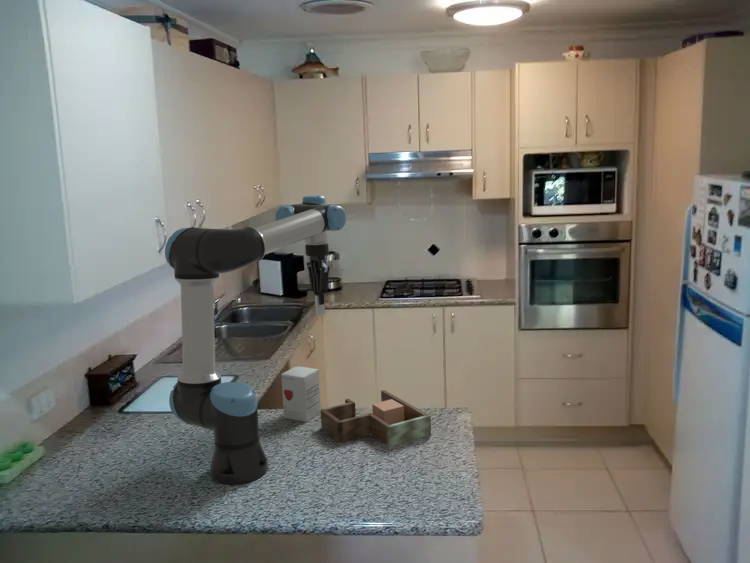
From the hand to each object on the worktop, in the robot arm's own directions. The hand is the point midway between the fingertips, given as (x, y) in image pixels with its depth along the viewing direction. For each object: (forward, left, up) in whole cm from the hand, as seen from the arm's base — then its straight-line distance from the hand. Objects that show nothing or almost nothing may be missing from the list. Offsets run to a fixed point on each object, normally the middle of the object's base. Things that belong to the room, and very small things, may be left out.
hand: (320, 313), depth 226 cm
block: (+6, -32, -31) cm, 44 cm away
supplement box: (-12, -8, -31) cm, 34 cm away
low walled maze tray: (+6, -31, -30) cm, 44 cm away
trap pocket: (-6, -27, -30) cm, 41 cm away
